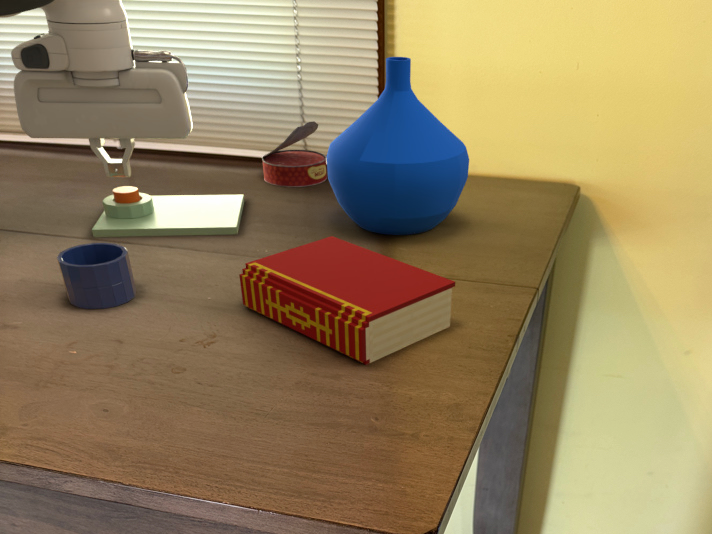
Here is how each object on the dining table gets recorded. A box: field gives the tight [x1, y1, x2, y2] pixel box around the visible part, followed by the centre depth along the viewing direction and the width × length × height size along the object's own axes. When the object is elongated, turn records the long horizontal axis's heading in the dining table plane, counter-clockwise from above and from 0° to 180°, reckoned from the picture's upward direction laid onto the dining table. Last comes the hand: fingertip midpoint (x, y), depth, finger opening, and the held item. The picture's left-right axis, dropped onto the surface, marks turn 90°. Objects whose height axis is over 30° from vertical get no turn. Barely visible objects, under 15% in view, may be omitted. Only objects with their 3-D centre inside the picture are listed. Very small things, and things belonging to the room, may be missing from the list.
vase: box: [325, 56, 470, 236], centre depth 96 cm, size 18×18×19 cm
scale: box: [91, 192, 245, 238], centre depth 101 cm, size 18×14×3 cm
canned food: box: [261, 121, 328, 188], centre depth 116 cm, size 11×10×10 cm
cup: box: [56, 242, 137, 310], centre depth 80 cm, size 7×7×5 cm
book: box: [238, 235, 456, 366], centre depth 77 cm, size 18×13×5 cm
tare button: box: [112, 185, 140, 204], centre depth 99 cm, size 3×3×2 cm
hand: (119, 176), depth 97 cm, fingers closed
